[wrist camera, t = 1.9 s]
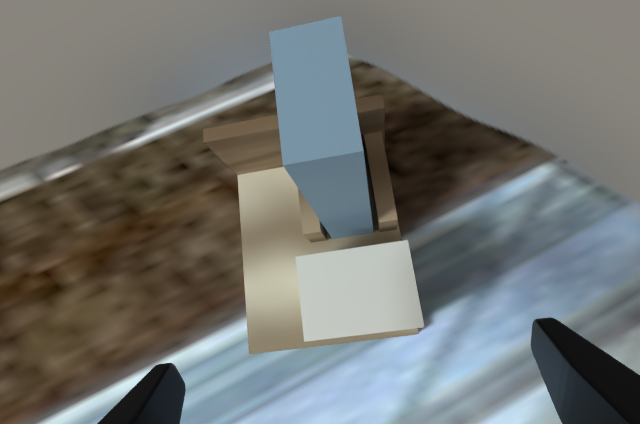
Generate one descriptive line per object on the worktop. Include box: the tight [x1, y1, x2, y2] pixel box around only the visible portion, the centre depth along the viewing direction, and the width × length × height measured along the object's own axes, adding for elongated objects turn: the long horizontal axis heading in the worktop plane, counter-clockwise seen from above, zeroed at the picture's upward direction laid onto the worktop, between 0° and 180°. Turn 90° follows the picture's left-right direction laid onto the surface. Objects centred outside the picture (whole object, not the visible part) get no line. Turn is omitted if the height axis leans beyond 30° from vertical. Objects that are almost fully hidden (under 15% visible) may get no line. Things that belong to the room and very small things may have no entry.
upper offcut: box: [295, 240, 424, 342], centre depth 19 cm, size 4×6×2 cm
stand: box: [203, 94, 419, 354], centre depth 21 cm, size 12×10×6 cm
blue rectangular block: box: [269, 16, 374, 239], centre depth 18 cm, size 5×2×12 cm, turn 7°
